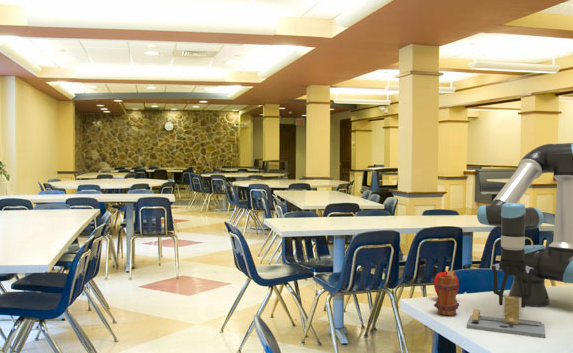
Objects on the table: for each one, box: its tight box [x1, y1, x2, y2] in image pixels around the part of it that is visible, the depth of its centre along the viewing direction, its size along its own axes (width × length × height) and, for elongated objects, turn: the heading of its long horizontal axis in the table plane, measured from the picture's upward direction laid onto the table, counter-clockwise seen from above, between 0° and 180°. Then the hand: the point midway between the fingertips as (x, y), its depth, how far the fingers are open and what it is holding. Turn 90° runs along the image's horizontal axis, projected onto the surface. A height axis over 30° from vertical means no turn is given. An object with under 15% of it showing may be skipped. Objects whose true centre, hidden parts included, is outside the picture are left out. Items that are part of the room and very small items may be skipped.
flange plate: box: [466, 314, 546, 339], centre depth 180 cm, size 24×13×1 cm, turn 65°
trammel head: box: [504, 295, 520, 327], centre depth 179 cm, size 4×9×8 cm, turn 155°
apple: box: [433, 271, 460, 296], centre depth 217 cm, size 10×10×12 cm
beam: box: [471, 308, 542, 327], centre depth 179 cm, size 22×7×3 cm, turn 65°
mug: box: [433, 270, 460, 316], centre depth 199 cm, size 15×8×15 cm, turn 148°
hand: (511, 315), depth 181 cm, fingers closed on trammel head, 4 cm apart
